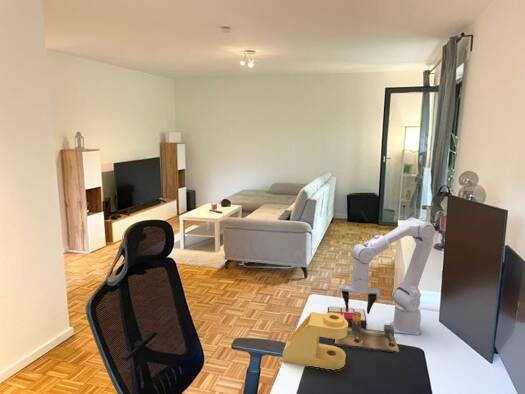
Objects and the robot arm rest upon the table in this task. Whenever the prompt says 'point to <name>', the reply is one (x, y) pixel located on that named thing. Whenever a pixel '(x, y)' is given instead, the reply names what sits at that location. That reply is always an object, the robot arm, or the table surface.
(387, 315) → the table surface
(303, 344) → the yellow clevis bracket
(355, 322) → the slider leg
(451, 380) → the table surface
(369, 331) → the board
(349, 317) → the button panel
